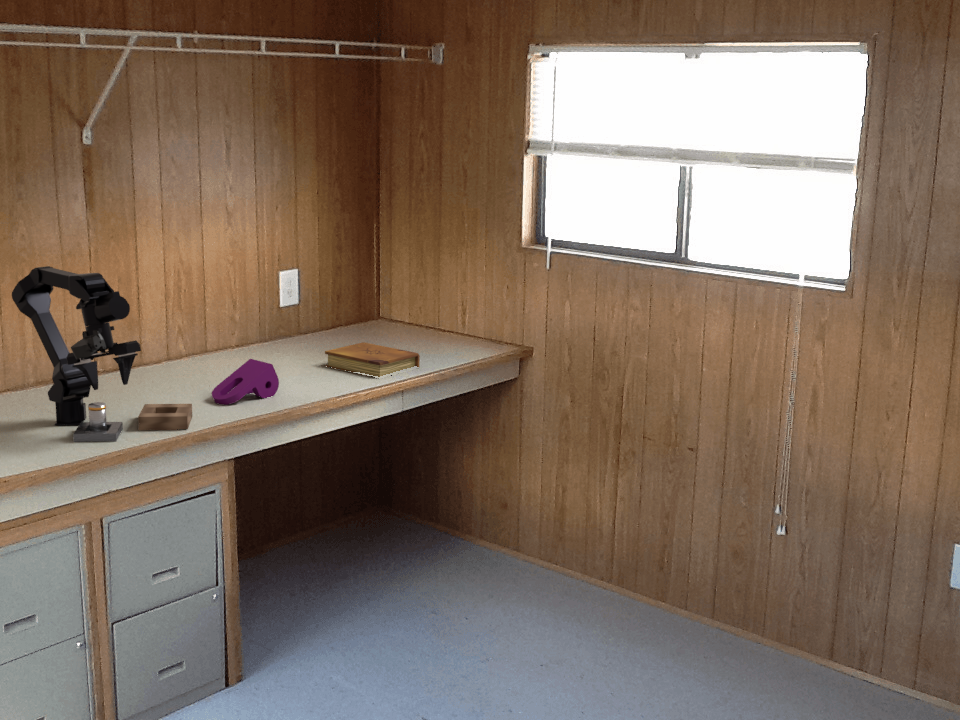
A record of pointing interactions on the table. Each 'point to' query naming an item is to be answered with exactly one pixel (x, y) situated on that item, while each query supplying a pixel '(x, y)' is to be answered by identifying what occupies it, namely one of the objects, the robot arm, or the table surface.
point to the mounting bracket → (247, 383)
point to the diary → (371, 359)
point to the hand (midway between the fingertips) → (110, 387)
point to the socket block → (165, 416)
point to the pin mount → (97, 433)
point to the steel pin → (97, 416)
